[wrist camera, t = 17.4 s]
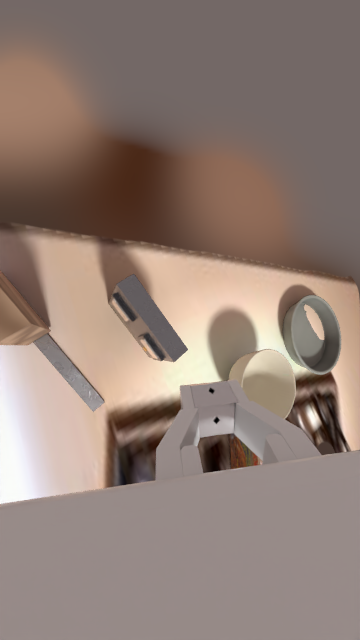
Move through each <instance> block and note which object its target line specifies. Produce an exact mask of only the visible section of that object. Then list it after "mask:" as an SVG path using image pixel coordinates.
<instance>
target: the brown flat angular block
mask: <svg viewBox="0 0 360 640" xmlns="http://www.w3.org/2000/svg"><path fill="white" fill-rule="evenodd" d="M50 331H51V330H50V329H49V328H48V327H47V326H46V324H45V323H44V322H43V321H42V320H41V318H40V317H39V316H38V315H37V314H36V312H35V311H34V310H33V309H32V308H31V306H30V305H29V304H28V303H27V302H26V300H25V299H24V298H23V297H22V296H21V294H20V293H19V292H18V291H17V290H16V288H15V287H14V286H13V285H12V284H11V282H10V281H9V280H8V279H7V278H6V276H5V275H4V274H3V273H2V272H1V271H0V345H29V344H31V343H32V342H34V341H35V340H37V339H39V338H40V337H42V336H44V335H45V334H47V333H49V332H50Z"/></svg>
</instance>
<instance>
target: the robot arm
mask: <svg viewBox="0 0 360 640" xmlns="http://www.w3.org/2000/svg"><path fill="white" fill-rule="evenodd" d="M180 398H181V410H180V411H179V413H178V414H177V416H176V418H175V419H174V421H173V423H172V424H171V426H170V428H169V429H168V431H167V432H166V434H165V436H164V437H163V439H162V441H161V442H160V444H159V446H158V447H157V449H156V481H150V482H143V483H136V484H130V485H123V486H116V487H110V488H103V489H96V490H90V491H83V492H76V493H70V494H63V495H56V496H50V497H43V498H37V499H30V500H23V501H17V502H10V503H3V504H0V640H360V450H356V451H349V452H342V453H336V454H329V455H323V456H322V455H321V454H320V453H319V451H318V450H317V449H316V447H315V446H314V445H313V444H312V442H311V441H310V440H309V439H308V437H307V436H306V435H305V433H304V432H303V431H302V430H301V429H300V428H298V427H296V426H295V425H293V424H291V423H290V422H288V421H286V420H284V419H283V418H281V417H279V416H278V415H276V414H274V413H273V412H271V411H269V410H267V409H266V408H264V407H262V406H261V405H259V404H257V403H255V402H254V401H249V399H248V397H247V396H246V394H245V392H244V391H243V389H242V387H241V386H240V384H239V382H238V381H237V380H236V379H233V380H226V381H220V382H212V383H202V384H191V385H182V386H180ZM229 433H234V434H235V435H236V436H237V437H238V438H239V439H240V440H241V441H242V442H243V443H244V444H245V445H246V446H247V447H248V448H249V449H250V450H251V451H252V452H254V453H255V454H256V455H257V456H258V457H259V458H260V459H261V460H262V461H263V462H262V465H256V466H249V467H243V468H236V469H229V470H223V471H216V472H209V473H203V470H202V465H201V461H200V456H199V451H198V447H197V445H198V442H199V438H201V437H207V436H213V435H220V434H229Z"/></svg>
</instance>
